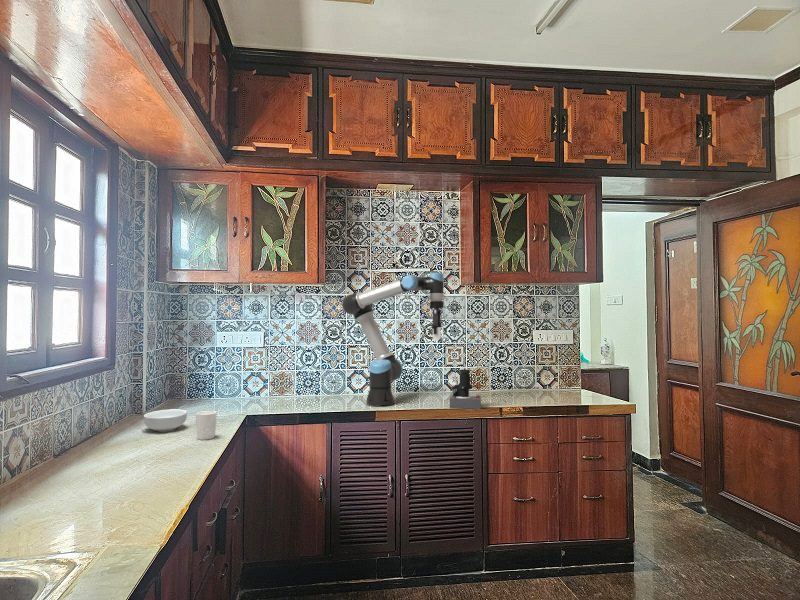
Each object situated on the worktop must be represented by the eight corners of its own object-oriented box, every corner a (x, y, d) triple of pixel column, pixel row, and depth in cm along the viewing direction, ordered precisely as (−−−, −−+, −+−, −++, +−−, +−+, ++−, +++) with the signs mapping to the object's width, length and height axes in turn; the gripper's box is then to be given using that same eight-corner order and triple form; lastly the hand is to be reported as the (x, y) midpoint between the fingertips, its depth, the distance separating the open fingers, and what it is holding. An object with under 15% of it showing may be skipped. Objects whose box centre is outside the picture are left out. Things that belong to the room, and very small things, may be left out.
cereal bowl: (135, 430, 210) (135, 414, 210) (172, 423, 224) (172, 407, 224) (157, 436, 201) (158, 419, 201) (194, 428, 215) (194, 412, 215)
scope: (455, 368, 266) (474, 369, 262) (456, 394, 266) (474, 395, 262) (451, 370, 259) (470, 371, 255) (451, 396, 258) (470, 398, 254)
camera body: (449, 407, 257) (449, 396, 257) (450, 405, 265) (450, 394, 265) (480, 409, 254) (480, 397, 254) (481, 406, 262) (481, 395, 262)
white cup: (198, 441, 193) (198, 415, 194) (193, 437, 200) (193, 412, 200) (219, 438, 198) (219, 413, 198) (213, 434, 204) (213, 409, 205)
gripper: (441, 300, 258) (441, 341, 258) (445, 301, 283) (445, 338, 283) (426, 300, 260) (426, 341, 260) (432, 301, 284) (432, 338, 284)
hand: (436, 339), depth 271 cm, fingers open, 13 cm apart
